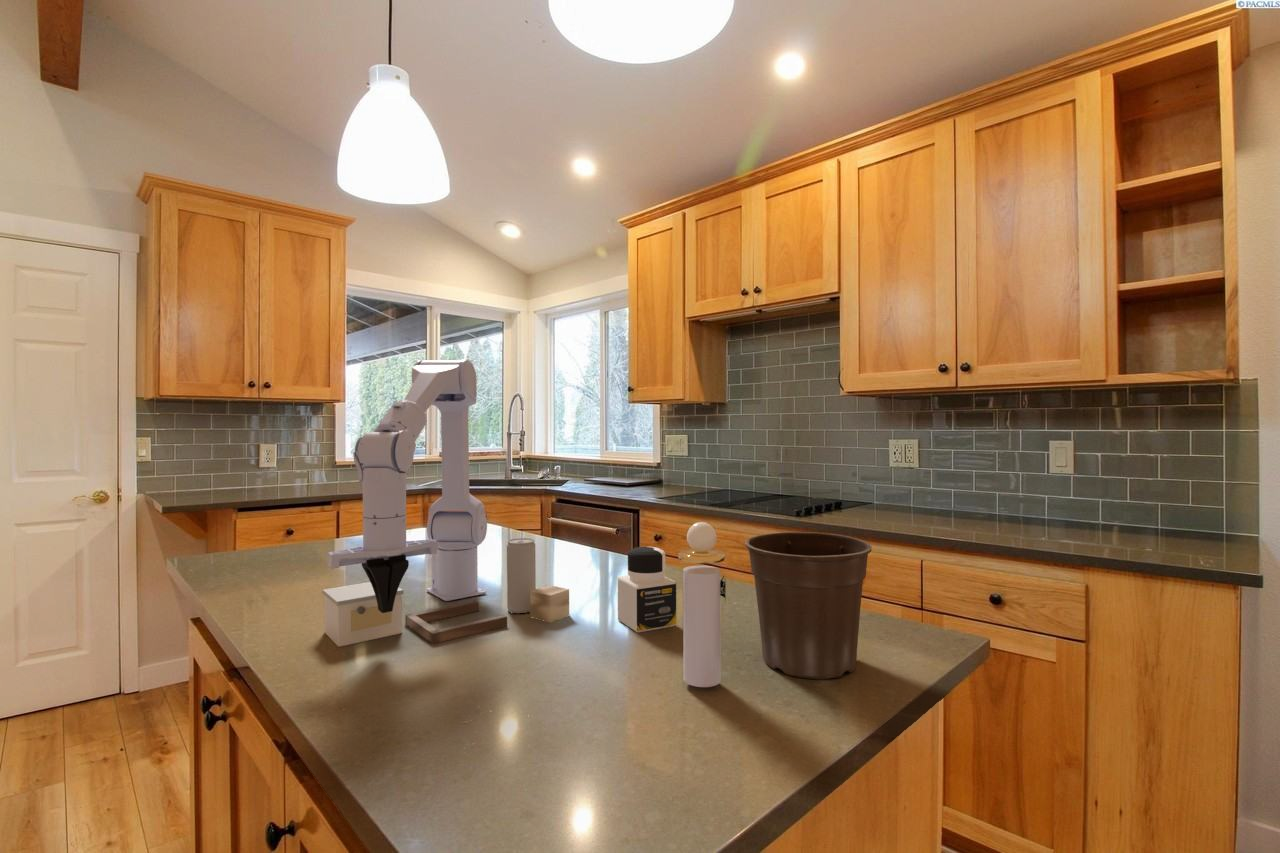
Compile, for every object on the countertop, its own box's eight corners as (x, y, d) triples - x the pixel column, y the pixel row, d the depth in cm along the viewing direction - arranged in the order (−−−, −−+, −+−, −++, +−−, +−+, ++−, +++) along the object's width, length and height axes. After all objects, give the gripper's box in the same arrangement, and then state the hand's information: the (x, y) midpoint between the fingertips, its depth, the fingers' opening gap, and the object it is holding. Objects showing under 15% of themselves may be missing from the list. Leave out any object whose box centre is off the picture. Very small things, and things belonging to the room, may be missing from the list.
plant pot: (758, 688, 74) (757, 555, 74) (736, 640, 90) (736, 531, 90) (892, 687, 74) (892, 554, 74) (846, 640, 90) (846, 531, 90)
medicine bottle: (637, 633, 93) (636, 555, 93) (617, 620, 100) (616, 546, 100) (677, 626, 97) (677, 550, 97) (655, 613, 103) (655, 542, 103)
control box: (322, 632, 94) (322, 589, 94) (385, 619, 100) (385, 579, 100) (338, 648, 87) (337, 602, 87) (404, 633, 93) (404, 590, 93)
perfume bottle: (697, 700, 71) (697, 527, 71) (669, 682, 76) (668, 521, 76) (735, 688, 74) (735, 523, 74) (705, 672, 79) (705, 517, 79)
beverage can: (538, 606, 107) (538, 538, 107) (531, 615, 102) (530, 543, 102) (512, 606, 108) (511, 537, 107) (503, 614, 103) (502, 543, 103)
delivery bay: (405, 624, 98) (405, 615, 98) (475, 609, 106) (475, 600, 106) (432, 643, 89) (432, 633, 89) (507, 626, 97) (507, 616, 97)
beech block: (530, 618, 101) (530, 591, 101) (549, 611, 105) (549, 585, 105) (550, 623, 98) (550, 595, 98) (569, 616, 102) (569, 589, 102)
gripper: (337, 524, 80) (337, 628, 80) (445, 513, 89) (445, 606, 89) (323, 518, 85) (324, 615, 85) (426, 508, 94) (427, 596, 94)
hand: (385, 610), depth 87 cm, fingers closed
